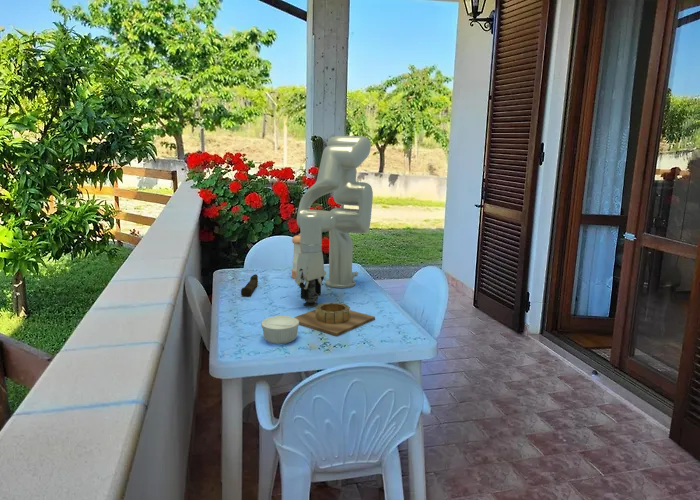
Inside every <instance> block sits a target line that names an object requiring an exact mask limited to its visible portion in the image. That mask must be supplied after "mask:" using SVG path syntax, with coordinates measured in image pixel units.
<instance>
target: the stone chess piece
mask: <svg viewBox="0 0 700 500" xmlns="http://www.w3.org/2000/svg"><path fill="white" fill-rule="evenodd" d="M315 286H316V284H315V279H314V280H311V281H309V283H308V287H307V289H308V300H305V299H303V300H304V301H305V302H304V303H303V306H304V307H308V308H316V307H317V305H319V303H318V302H317V301H318V299H319V297H320V296H319V294H317V293H316V292H315Z"/></svg>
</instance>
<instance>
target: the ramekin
mask: <svg viewBox="0 0 700 500" xmlns="http://www.w3.org/2000/svg"><path fill="white" fill-rule="evenodd" d="M294 317H295V316H288V315H275V316H274V315H273V316H270V317H267V318H264V319H263V320H261V325H260V326H261V328H262V332H263V338H264V340H265V341H267V343H268V342H269V343H270V344H276V345H281V344H283V345H285V344H288V343H291V342H294V341H295V340H296V339H297V337H298V331H299V330H298V329H299V326H300V325H299V321H298V319H296V318H294Z"/></svg>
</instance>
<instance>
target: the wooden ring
mask: <svg viewBox="0 0 700 500" xmlns="http://www.w3.org/2000/svg"><path fill="white" fill-rule="evenodd" d="M315 310H316V319H317V320H318V321H320V322H323V323H330V324H337V323H343V322H346V321H348V320H349V318H350V310H351V307H350V306H349V305H348V304H345V303H342V302H330V301H329V302H323V303H320V304H318V305H317V306H315Z"/></svg>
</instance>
